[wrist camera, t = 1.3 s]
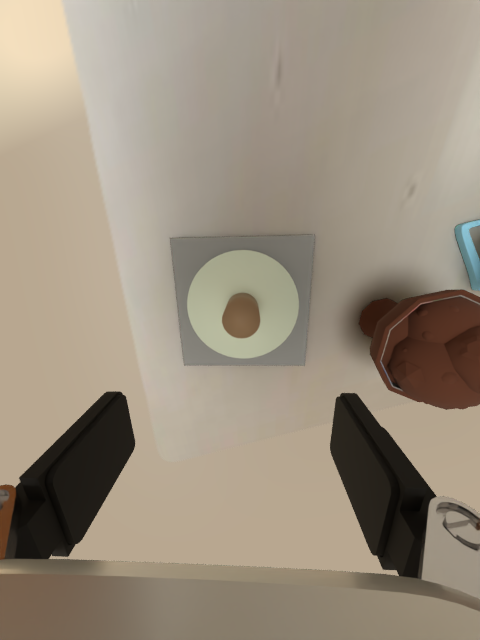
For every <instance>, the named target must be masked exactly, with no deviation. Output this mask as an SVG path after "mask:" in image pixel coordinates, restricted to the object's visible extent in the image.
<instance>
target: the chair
mask: <svg viewBox="0 0 480 640" xmlns="http://www.w3.org/2000/svg"><path fill="white" fill-rule="evenodd" d="M476 226H480V219H479V220H475V221H471V222H467V223H463V224H459V225H457V226H456V227H455V235H456V239H457V242H458V245H459V248H460V251H461V254H462V257H463V260H464V263H465V265H466V268H467V272H468V275H469V279H470V283H471V288H472V290H478V291H480V260H479V257H478V254H477V252H476V249H475V247H474V244H473V241H472V239H471V236H470V233H469V229H470V228H472V227H476Z"/></svg>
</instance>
